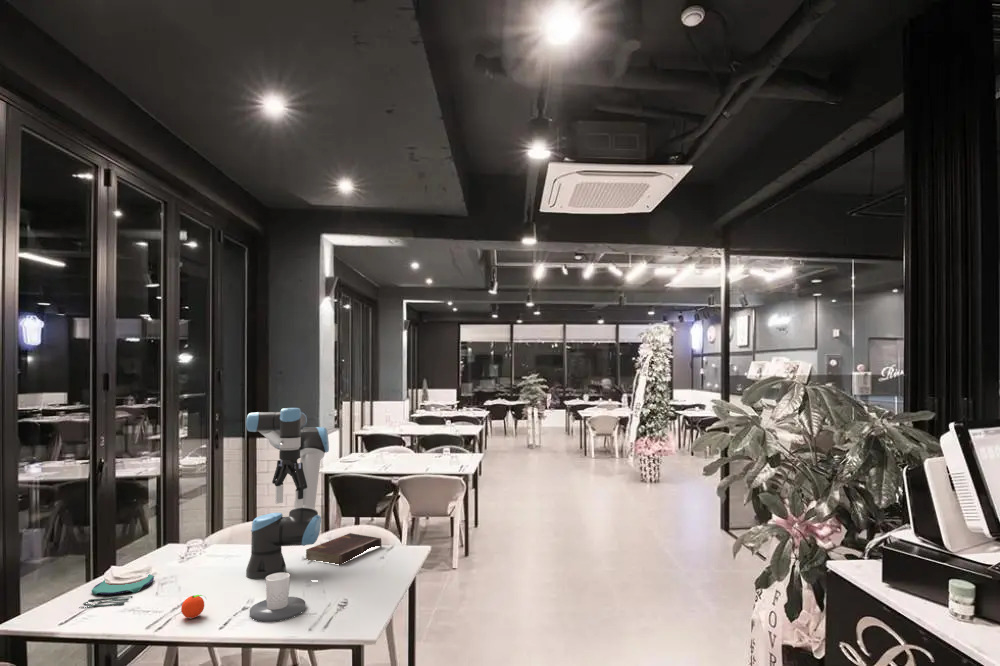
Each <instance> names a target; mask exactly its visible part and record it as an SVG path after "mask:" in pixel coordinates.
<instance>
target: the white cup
mask: <svg viewBox="0 0 1000 666" xmlns="http://www.w3.org/2000/svg"><path fill="white" fill-rule="evenodd" d="M290 579H291V574H290V573H288V572H284V573H274V574H271V575H268V576H267V577H266V578H265V597H266V599H265V600H267V608H268V609H270V610H277V609H282V608H284V607H286V606H287V605H288V597H290V596H289V595H290V585H291V583H290V581H291V580H290Z"/></svg>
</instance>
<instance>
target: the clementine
mask: <svg viewBox="0 0 1000 666" xmlns="http://www.w3.org/2000/svg"><path fill="white" fill-rule="evenodd" d="M201 596H202V597H204V598H205V599H207V597H206V596H205V595H202V594H196V595H195V594H194V595H190V596H187V598H186V599H184V601H183V602H182V604H181V609H180V610H181V611H180V612H181V613H182V615H183V616H184V618H188V619H194V618H197V617H199V615H201V614H202V613H203V611H204V609H205V601H204V599H203V598H202V597H201Z"/></svg>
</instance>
